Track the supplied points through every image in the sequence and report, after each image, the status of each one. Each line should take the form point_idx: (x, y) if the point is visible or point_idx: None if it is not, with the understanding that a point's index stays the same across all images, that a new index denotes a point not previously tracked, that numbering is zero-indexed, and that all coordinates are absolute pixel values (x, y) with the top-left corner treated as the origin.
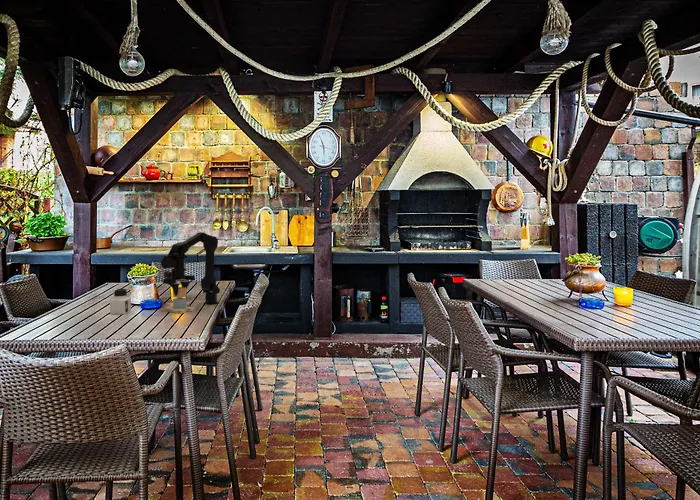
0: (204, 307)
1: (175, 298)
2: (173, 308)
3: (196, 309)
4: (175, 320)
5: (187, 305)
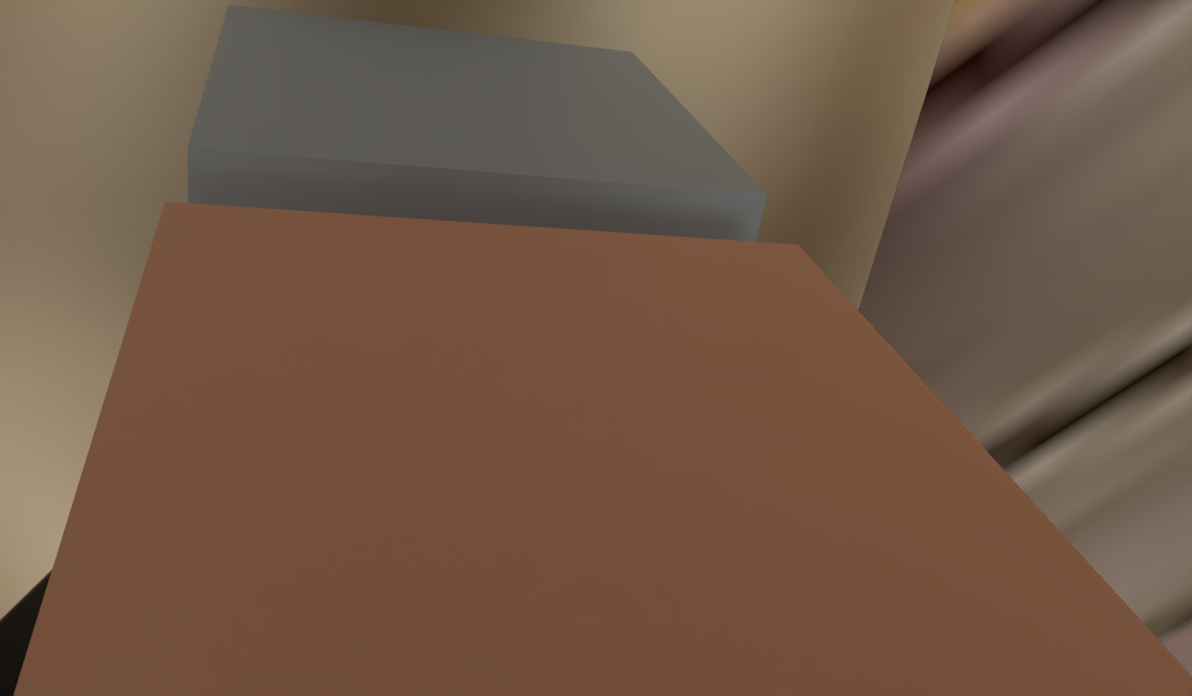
0: (1031, 488)
1: (387, 188)
2: (118, 119)
3: None
4: None
5: (879, 187)
